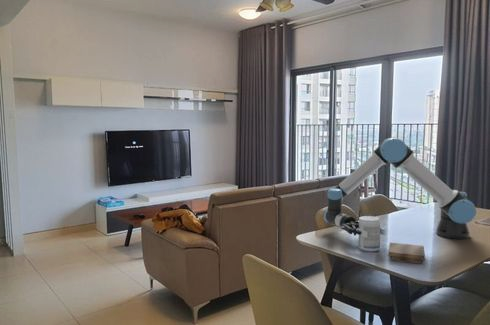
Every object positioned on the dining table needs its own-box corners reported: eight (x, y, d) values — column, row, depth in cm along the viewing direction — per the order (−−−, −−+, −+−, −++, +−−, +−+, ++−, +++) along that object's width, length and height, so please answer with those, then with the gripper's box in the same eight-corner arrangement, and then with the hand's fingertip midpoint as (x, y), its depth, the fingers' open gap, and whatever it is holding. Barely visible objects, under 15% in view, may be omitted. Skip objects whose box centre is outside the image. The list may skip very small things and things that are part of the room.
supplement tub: (384, 249, 172) (384, 218, 171) (371, 253, 167) (371, 221, 165) (367, 244, 180) (367, 214, 179) (354, 248, 175) (354, 217, 173)
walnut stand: (423, 254, 165) (423, 245, 164) (424, 265, 152) (424, 255, 151) (389, 250, 170) (389, 242, 170) (388, 261, 157) (388, 251, 157)
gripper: (363, 227, 194) (394, 238, 173) (327, 231, 186) (355, 244, 165) (363, 212, 193) (395, 222, 172) (327, 217, 185) (356, 228, 164)
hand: (375, 233), depth 168 cm, fingers closed on supplement tub, 9 cm apart
